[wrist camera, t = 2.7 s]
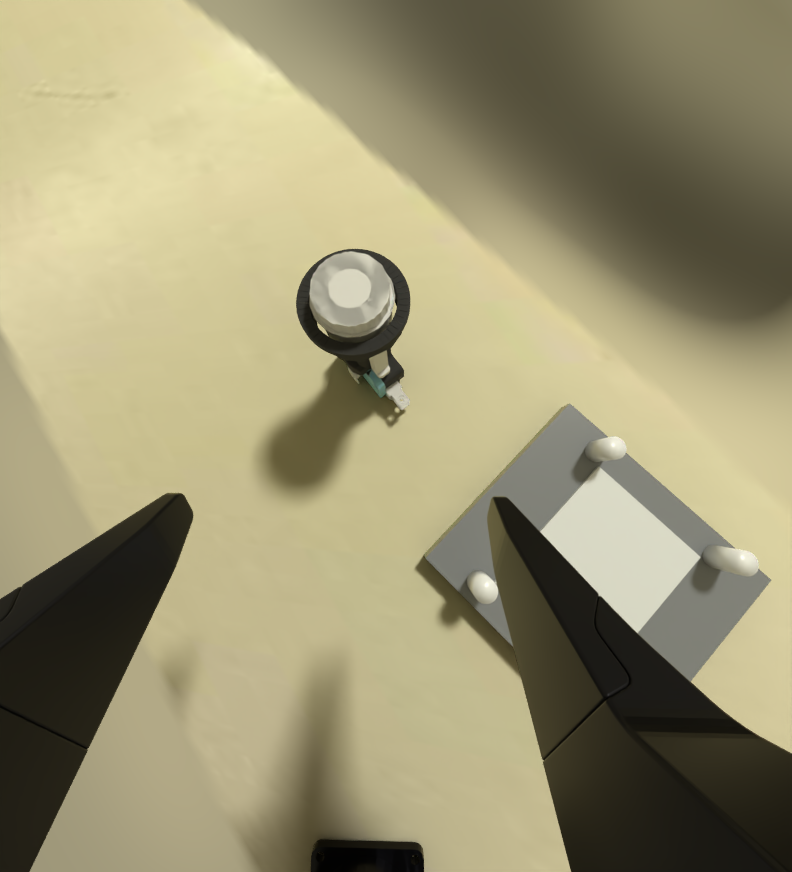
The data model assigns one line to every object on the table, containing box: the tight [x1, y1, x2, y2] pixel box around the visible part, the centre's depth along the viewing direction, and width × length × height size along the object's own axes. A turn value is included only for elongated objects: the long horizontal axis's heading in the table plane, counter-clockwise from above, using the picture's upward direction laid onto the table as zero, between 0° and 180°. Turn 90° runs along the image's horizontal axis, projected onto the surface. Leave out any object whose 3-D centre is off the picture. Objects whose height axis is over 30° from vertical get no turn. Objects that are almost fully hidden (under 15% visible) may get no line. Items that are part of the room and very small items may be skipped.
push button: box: [296, 249, 410, 410], centre depth 20 cm, size 7×5×10 cm
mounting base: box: [424, 404, 771, 681], centre depth 21 cm, size 14×16×3 cm
